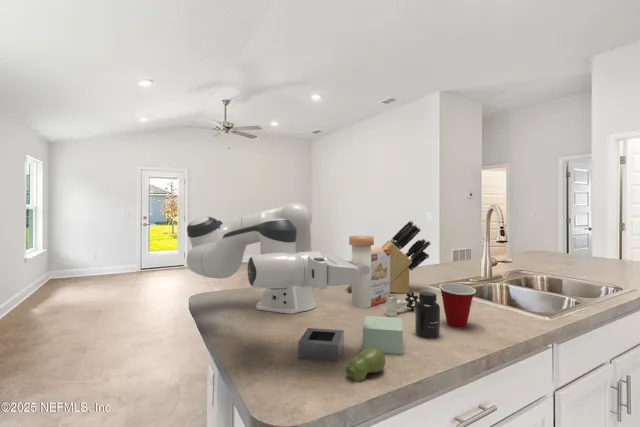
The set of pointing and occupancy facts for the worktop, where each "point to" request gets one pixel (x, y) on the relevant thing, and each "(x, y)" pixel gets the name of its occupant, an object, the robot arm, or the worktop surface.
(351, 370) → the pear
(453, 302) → the plastic cup
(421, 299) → the supplement bottle
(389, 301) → the valve
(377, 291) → the cracker box
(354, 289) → the end plug
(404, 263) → the knife block
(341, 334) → the block
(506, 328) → the worktop surface
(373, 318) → the parts stand
